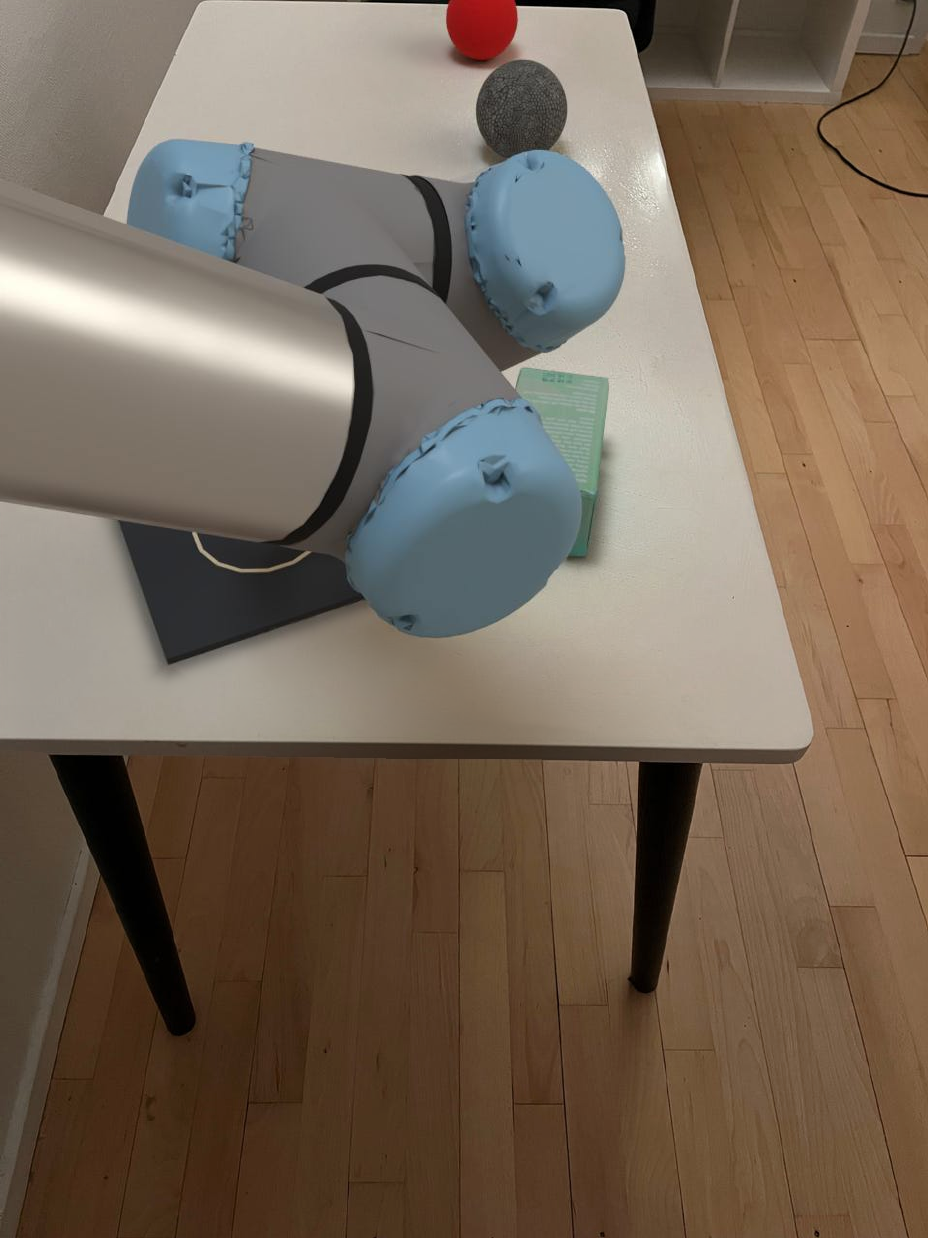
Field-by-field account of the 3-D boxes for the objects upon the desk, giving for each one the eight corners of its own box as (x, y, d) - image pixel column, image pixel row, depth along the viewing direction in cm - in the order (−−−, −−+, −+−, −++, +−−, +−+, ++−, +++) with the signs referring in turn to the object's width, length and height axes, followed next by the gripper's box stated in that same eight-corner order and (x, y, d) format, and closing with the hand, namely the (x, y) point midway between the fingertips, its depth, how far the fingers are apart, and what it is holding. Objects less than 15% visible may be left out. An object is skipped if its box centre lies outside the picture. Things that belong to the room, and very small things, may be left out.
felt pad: (168, 664, 74) (166, 658, 74) (105, 483, 86) (103, 477, 85) (430, 576, 79) (430, 570, 79) (338, 417, 91) (337, 411, 90)
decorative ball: (565, 178, 116) (572, 85, 109) (474, 176, 116) (475, 83, 109) (562, 134, 123) (569, 43, 115) (476, 133, 123) (477, 42, 115)
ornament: (485, 35, 140) (486, -50, 132) (530, 58, 135) (535, -28, 127) (431, 54, 136) (430, -33, 128) (477, 78, 132) (478, -9, 124)
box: (491, 552, 81) (495, 480, 75) (513, 436, 89) (518, 364, 84) (587, 563, 80) (598, 492, 75) (599, 446, 89) (610, 374, 83)
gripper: (315, 489, 52) (172, 554, 72) (526, 336, 60) (345, 432, 80) (226, 357, 50) (103, 460, 70) (456, 217, 58) (288, 345, 78)
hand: (233, 445), depth 75 cm, fingers closed on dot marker, 4 cm apart
